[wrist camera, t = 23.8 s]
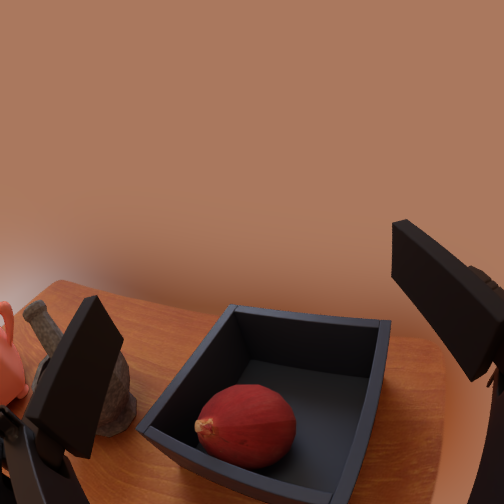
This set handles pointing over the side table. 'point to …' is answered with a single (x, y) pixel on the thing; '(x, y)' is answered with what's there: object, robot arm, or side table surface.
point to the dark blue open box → (292, 391)
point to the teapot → (10, 361)
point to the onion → (247, 426)
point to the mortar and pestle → (118, 396)
